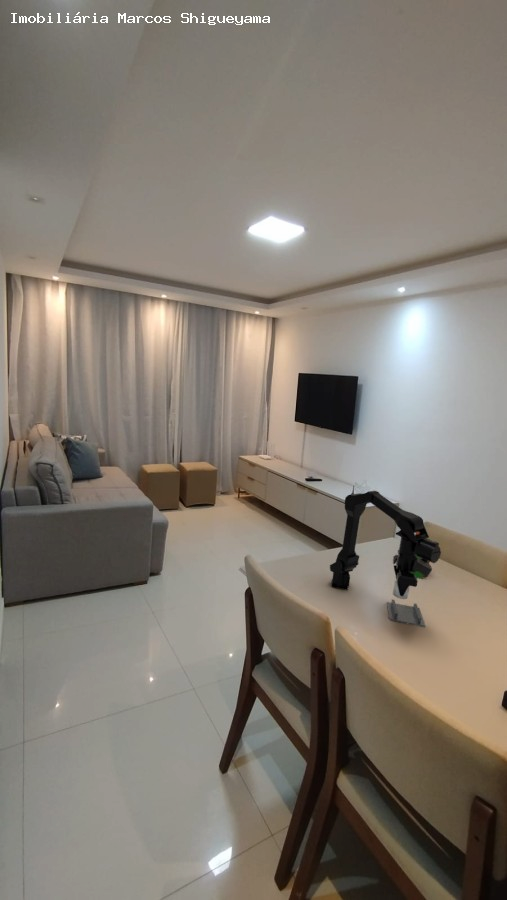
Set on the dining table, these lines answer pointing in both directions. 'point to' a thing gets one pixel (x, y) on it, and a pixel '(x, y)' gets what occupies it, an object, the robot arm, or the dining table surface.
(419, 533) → the motor
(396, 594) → the grey capped cylinder
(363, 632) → the dining table surface
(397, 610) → the cradle
